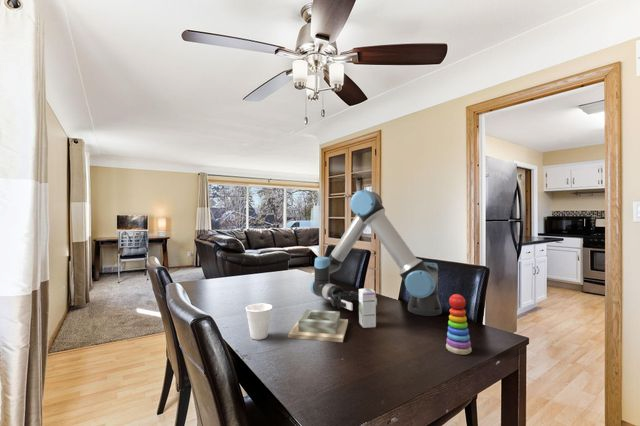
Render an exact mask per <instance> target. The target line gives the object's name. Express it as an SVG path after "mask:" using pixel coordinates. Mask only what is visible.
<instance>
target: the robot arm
mask: <svg viewBox="0 0 640 426" xmlns="http://www.w3.org/2000/svg"><path fill="white" fill-rule="evenodd" d="M349 204H350V209H351V211H352V212H353V214H354V215H355V216H354V218H353V219H352V221H351V222H350V224H349V225H348V227H347V228H346V230H345V232H343V234H342V236H341V238H340V239H339V240H338V242H337V244H336V245H335V247H334V249H333V250H331V253H330V254H329V256H317V257H315V258H314V265H313V266H314V267H313V268H314V280H312V282H311V285H310V286H309V287H310V288H309V289H310V291H311V294H313V295H315V296H317V297H320V298H322V299H325V300H328V301H329V302H330V303H331V305H332V306H333V308H334V307H337V309H341V308H344V309H347V310H349V311H353V307H354V306H353V303H352V302H351V301H352V300H353V301H354V300H355V301H359V291H358V292H357V291H353V290H350V291H346V290H344V288H343V287H341V286H340V285H336V284H333V283H330V279H331V278H330V277H331V275H330V274H332V273H336V272H337V271H339V270H341V268H342V263H343V262H344V261H345V258H347V256H348V254H349V253H350V251H351V250H352V249H353V247H354V245H355V244H356V243H357V241H358V240H359V238H360V236H361V235H362V233H363V232H364V231H365V229H366V227H367V226H368V225H369V227H370V229H371V230H372V231H373V233H374V234H375V235H376V237H377V238H378V240H379V241H380V244H382V246H383V247H384V249H385V250H386V251H387V253H388V255H390V257H391V259H392V260H393V261H394V263H395V264H396V266H397V267H398V269H399V276H400V277H401V279H402V280H403V281H404V285H405V289H406V290H407V292H408V293H409V294H410V297H409V301H408V303H407V311H408V312H409V313H412V314H414V315H419V316H425V317H434V316H435V317H436V316H440V315H441V314H442V312H443V310H442V305H441V302H440V299H439V293H438V291H439V289H438V288H439V285H438V284H439V283H438V282H439V277H438V276H439V272H438V271H439V267H438V266H439V265H438V263H435V262H426V261H425V262H424V260H422V259H420V258H417V257H416V256H415V254H414V253H413V252H412V250H411V249H410V247H409V246H408V245H407V243H406V242H405V241H404V239H403V238H402V236H401V235H400V234H399V232H398V231H397V229H396V228H395V227H394V225H393V224H392V223H391V221H390V220H389V218H388V217H387V216H386V208H385V207H384V205H383V201H382V198H381V196H380V195H379V194H378V193H376V192H374V191H370V190H367V189H362V190H358V191H356V192H355V193H354V194H353V195H352V196H351V198H350V202H349ZM377 305H378V298H377V297H376V306H377Z"/></svg>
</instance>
